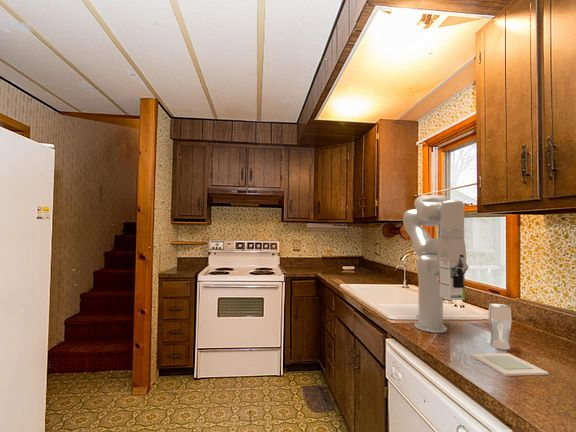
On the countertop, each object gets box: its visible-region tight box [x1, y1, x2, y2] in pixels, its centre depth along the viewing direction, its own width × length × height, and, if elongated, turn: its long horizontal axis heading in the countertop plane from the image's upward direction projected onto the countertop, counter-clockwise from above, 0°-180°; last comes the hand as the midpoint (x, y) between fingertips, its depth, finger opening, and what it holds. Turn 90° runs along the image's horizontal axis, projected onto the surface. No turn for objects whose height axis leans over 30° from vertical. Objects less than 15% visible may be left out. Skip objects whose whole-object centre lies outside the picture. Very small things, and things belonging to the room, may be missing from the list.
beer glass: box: [487, 302, 513, 351], centre depth 109 cm, size 7×7×15 cm
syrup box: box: [439, 258, 466, 301], centre depth 106 cm, size 6×6×14 cm
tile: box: [470, 352, 550, 377], centre depth 94 cm, size 14×14×1 cm
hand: (451, 285), depth 106 cm, fingers closed on syrup box, 5 cm apart
